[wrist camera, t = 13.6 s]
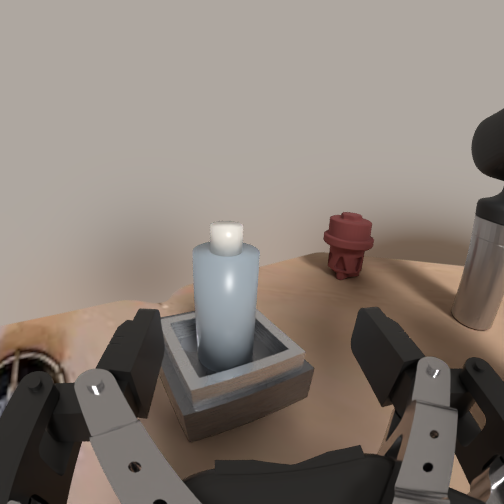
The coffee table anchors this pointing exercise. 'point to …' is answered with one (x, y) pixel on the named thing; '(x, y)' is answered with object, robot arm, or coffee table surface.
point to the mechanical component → (348, 243)
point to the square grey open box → (230, 378)
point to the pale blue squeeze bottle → (225, 297)
